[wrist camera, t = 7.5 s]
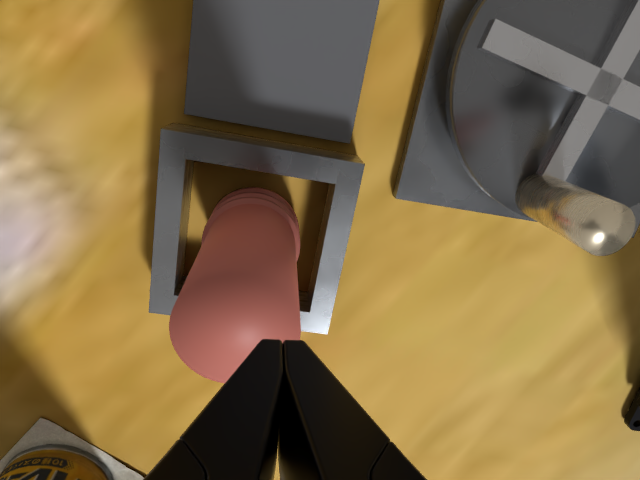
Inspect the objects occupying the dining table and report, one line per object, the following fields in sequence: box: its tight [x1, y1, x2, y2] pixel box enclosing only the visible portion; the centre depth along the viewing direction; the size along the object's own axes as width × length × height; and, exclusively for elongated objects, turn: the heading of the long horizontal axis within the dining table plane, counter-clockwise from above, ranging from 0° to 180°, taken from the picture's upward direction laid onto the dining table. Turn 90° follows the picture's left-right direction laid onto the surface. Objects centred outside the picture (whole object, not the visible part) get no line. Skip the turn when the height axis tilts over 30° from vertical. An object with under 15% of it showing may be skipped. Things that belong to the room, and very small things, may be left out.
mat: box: [184, 0, 379, 143], centre depth 18 cm, size 7×7×1 cm
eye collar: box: [149, 123, 365, 334], centre depth 20 cm, size 8×8×2 cm
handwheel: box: [446, 0, 640, 256], centre depth 16 cm, size 11×11×5 cm
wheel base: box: [393, 0, 640, 238], centre depth 19 cm, size 12×12×1 cm
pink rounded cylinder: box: [169, 187, 301, 383], centre depth 17 cm, size 4×4×9 cm
